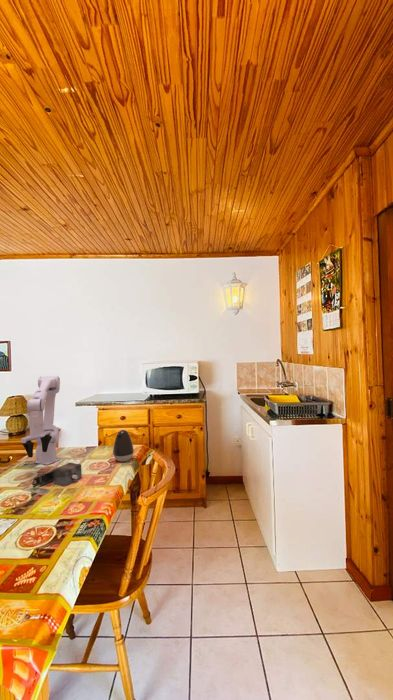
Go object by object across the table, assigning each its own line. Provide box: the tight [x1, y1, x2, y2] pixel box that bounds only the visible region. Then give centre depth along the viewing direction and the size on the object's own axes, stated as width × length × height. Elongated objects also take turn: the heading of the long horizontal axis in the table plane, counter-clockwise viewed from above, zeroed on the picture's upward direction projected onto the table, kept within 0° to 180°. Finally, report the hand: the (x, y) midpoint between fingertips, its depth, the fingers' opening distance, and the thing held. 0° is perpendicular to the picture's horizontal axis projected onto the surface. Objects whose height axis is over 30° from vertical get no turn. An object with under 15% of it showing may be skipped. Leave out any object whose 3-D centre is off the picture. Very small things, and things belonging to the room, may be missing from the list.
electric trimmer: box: [31, 475, 40, 486], centre depth 140 cm, size 4×16×3 cm, turn 146°
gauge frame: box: [20, 462, 83, 496], centre depth 135 cm, size 15×18×6 cm
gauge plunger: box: [32, 469, 78, 487], centre depth 136 cm, size 12×20×4 cm, turn 155°
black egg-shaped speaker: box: [112, 429, 135, 463], centre depth 162 cm, size 10×10×15 cm
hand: (37, 454), depth 146 cm, fingers open, 7 cm apart
